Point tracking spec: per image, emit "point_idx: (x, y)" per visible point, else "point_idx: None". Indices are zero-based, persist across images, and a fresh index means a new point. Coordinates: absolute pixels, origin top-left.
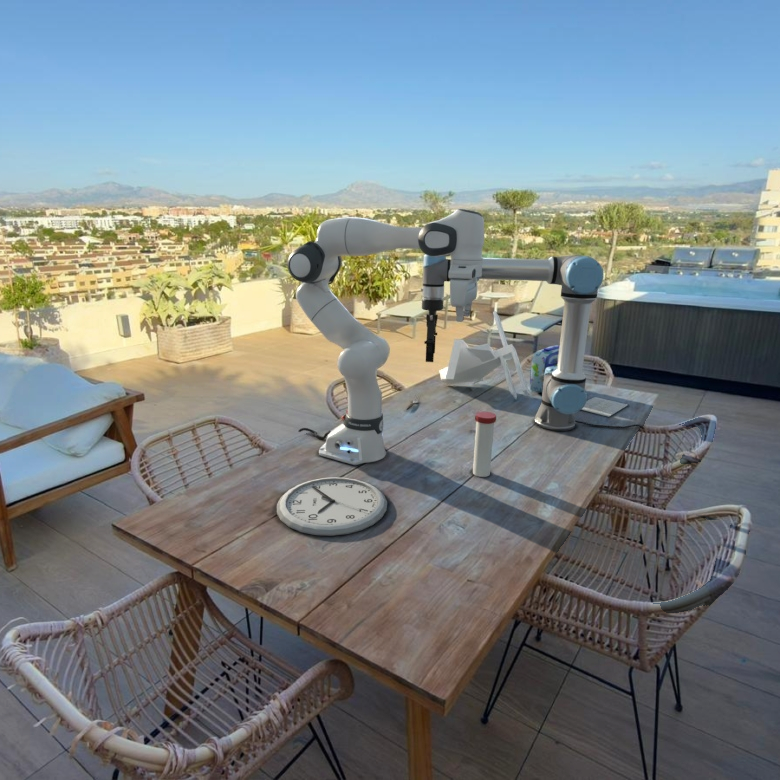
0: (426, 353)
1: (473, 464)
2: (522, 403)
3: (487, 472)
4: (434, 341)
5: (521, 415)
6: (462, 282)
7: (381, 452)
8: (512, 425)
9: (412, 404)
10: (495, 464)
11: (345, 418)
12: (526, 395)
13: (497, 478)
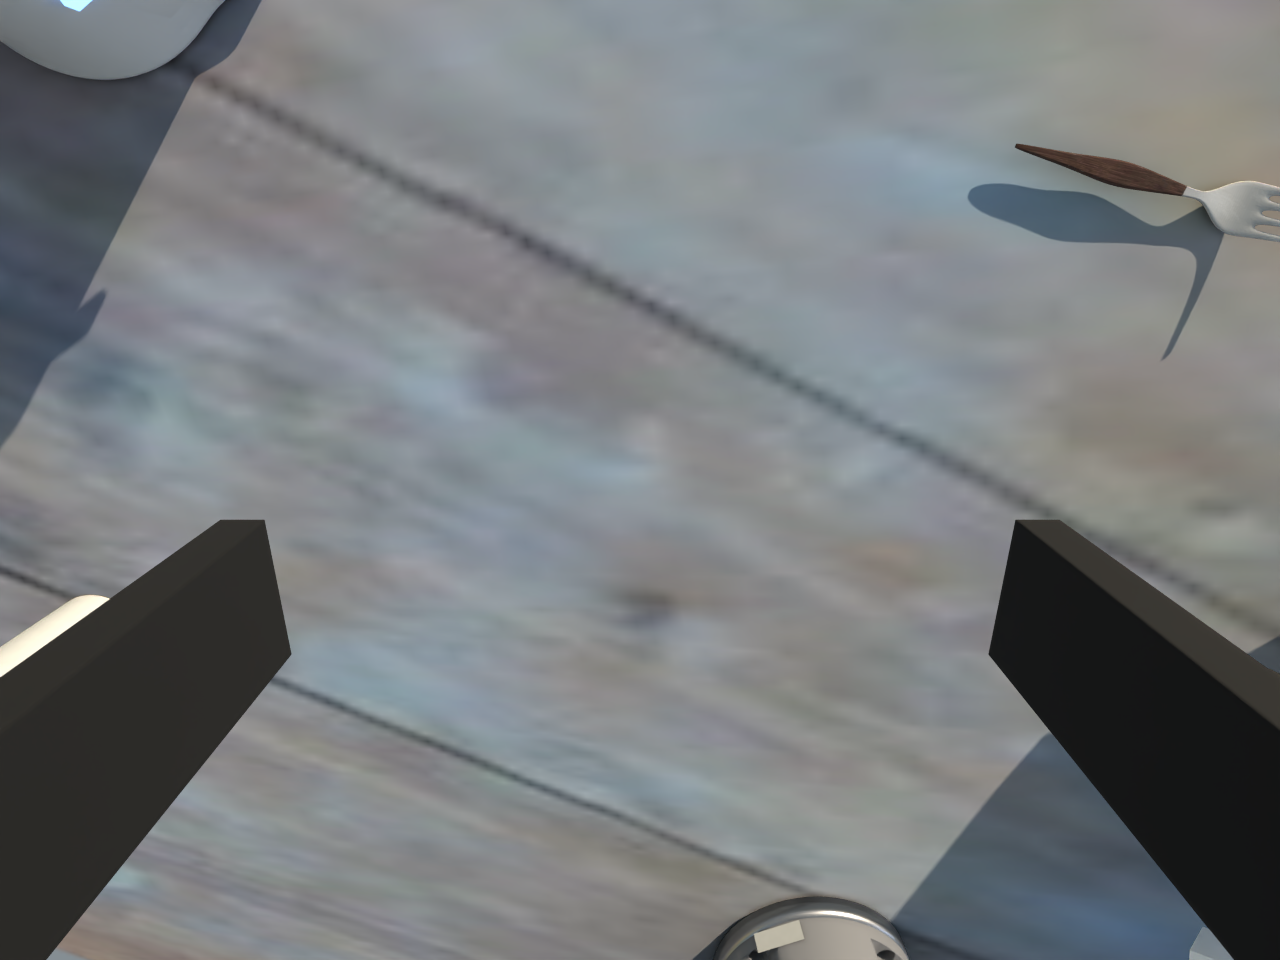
0: (94, 625)
1: (49, 619)
2: (1141, 875)
3: None
4: (1159, 846)
5: (934, 852)
6: None
7: (9, 43)
8: (772, 800)
9: (1143, 188)
10: None
11: None
12: (1201, 929)
13: None
